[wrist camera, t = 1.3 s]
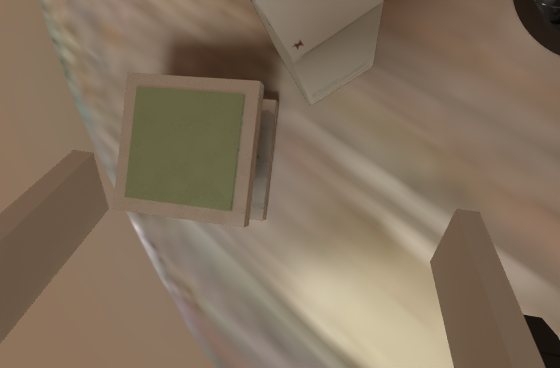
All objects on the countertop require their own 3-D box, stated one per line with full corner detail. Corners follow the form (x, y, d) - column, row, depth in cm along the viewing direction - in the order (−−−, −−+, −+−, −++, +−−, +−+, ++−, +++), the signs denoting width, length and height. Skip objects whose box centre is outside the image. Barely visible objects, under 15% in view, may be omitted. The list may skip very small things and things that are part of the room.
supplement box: (375, 67, 36) (389, 2, 23) (309, 107, 37) (289, 66, 24) (337, 6, 36) (330, -89, 24) (274, 47, 38) (237, -23, 25)
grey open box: (171, 95, 40) (125, 71, 32) (279, 103, 37) (259, 79, 29) (159, 204, 40) (110, 209, 32) (265, 219, 38) (242, 227, 29)
